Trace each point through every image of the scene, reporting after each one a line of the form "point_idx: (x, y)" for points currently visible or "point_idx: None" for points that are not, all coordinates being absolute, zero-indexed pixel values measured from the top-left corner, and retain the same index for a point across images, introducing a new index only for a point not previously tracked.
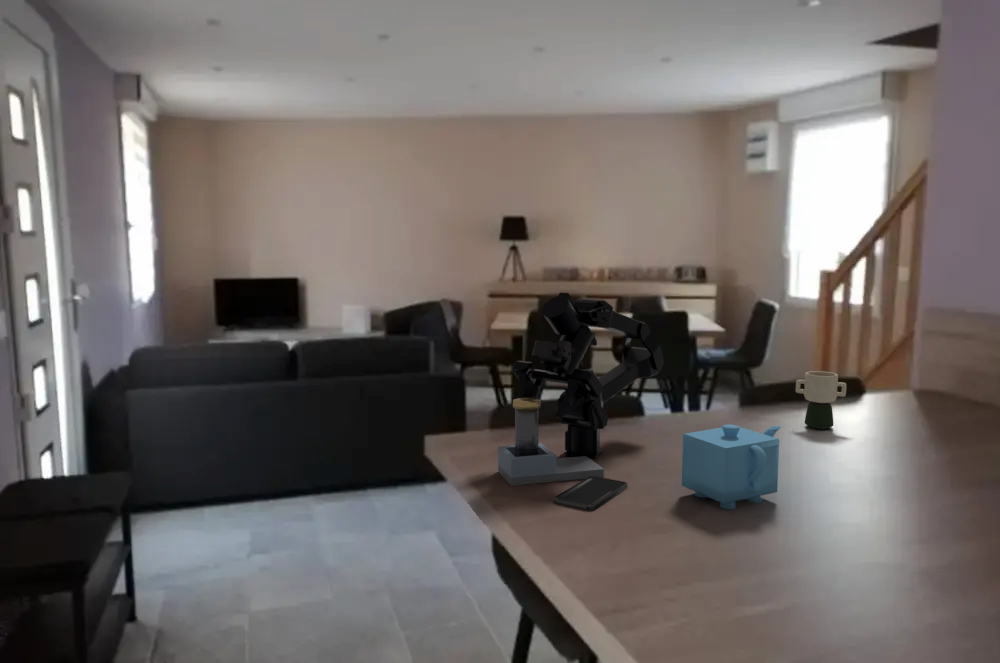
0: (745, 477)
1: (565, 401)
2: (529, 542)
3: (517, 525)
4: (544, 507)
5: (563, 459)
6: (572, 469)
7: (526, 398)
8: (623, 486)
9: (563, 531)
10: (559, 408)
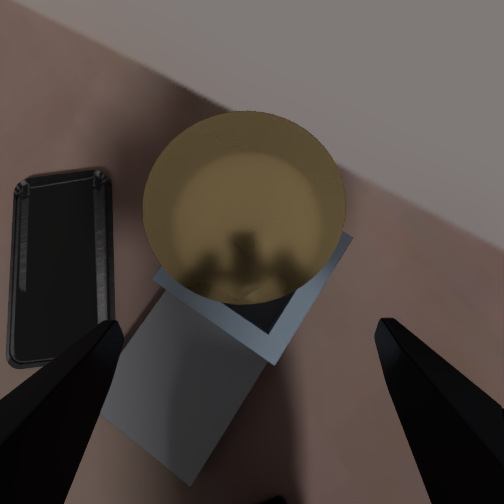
0: None
1: (10, 398)
2: (51, 23)
3: (103, 57)
4: (110, 145)
5: (224, 404)
6: (154, 340)
7: (293, 256)
8: (7, 335)
9: (26, 83)
10: (79, 348)
